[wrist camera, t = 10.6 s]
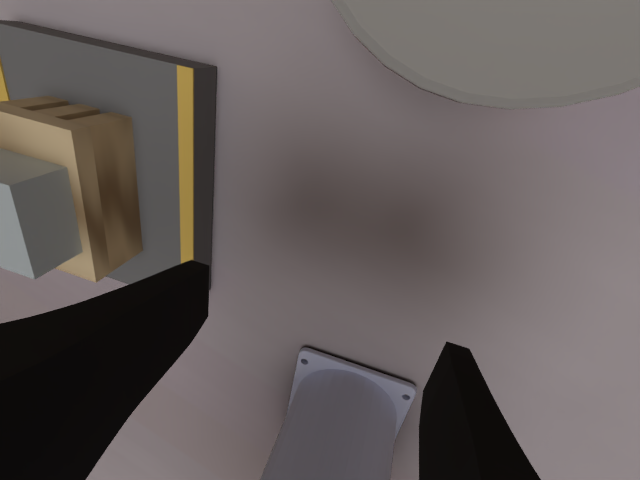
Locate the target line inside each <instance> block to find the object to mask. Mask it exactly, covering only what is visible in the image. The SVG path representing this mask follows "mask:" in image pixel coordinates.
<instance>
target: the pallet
mask: <svg viewBox="0 0 640 480" xmlns="http://www.w3.org/2000/svg"><path fill="white" fill-rule="evenodd" d="M1 148H2V149H5V150H9V151H12V152H16V153H19V154H23V155H26V156H30V157H33V158H37V159H40V160H44V161H47V162H51V163H54V164H58V165H61V166H65V167H67V170H68V175H69V180H70V186H71V191H72V196H73V202H74V207H75V213H76V218H77V223H78V229H79V234H80V240H81V245H82V250H83V252H82V253H80V254H78V255H77V256H75V257H73V258H71V259H70V260H68V261H66V262H64V263H63V264H61V265H59V266H57V267H56V268H55V269H58V270H61V271H64V272H67V273H70V274H73V275H76V276H79V277H82V278H84V279H87V280H90V281H93V282H98V281H99V280H101V279H102V278H104V277H105V276H107V275H108V274H109V273H111V272H112V271H114V270H115V269H117V268H118V267H120V266H121V265H123V264H124V263H126V262H127V261H128V260H130V259H131V258H133V257H134V256H136V255H137V254H139V253H140V252H142V251H143V247H142V235H141V223H140V211H139V199H138V187H137V175H136V163H135V151H134V139H133V127H132V117H129V116H125V115H121V114H117V113H113V112H108V113H103V114H100V110H99V109H98V108H94V107H90V106H87V105H83V104H74V105H69V103H68V101H67V100H63V99H60V98H56V97H52V96H42V97H34V98H25V99H17V100H9V101H0V149H1Z"/></svg>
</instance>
